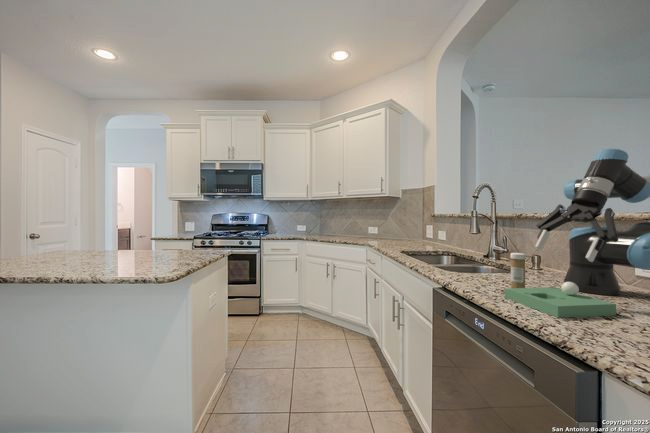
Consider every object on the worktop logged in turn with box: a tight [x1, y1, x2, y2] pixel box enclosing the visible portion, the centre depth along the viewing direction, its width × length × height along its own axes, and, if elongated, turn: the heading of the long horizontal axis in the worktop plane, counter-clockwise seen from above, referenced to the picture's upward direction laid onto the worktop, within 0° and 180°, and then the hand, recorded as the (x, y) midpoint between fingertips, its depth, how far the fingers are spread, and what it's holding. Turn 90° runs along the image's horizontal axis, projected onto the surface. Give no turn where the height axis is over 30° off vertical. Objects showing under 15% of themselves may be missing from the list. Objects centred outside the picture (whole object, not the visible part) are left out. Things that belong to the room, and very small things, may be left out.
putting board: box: [504, 286, 617, 319], centre depth 83 cm, size 18×18×3 cm
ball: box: [560, 282, 580, 295], centre depth 83 cm, size 4×4×4 cm
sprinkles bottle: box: [509, 252, 527, 288], centre depth 100 cm, size 5×5×14 cm
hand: (561, 253), depth 84 cm, fingers open, 13 cm apart
